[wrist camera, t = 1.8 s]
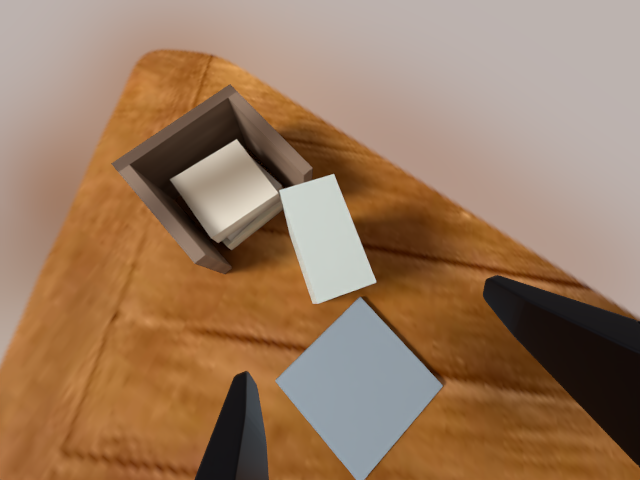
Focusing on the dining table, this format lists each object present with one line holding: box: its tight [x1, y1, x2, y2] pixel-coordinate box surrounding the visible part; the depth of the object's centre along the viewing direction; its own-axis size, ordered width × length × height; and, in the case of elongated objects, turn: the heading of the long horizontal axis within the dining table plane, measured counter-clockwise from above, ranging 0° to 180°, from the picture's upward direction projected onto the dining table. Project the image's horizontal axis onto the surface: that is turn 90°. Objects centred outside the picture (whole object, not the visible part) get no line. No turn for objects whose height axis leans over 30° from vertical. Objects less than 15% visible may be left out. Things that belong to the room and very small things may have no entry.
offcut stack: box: [170, 139, 284, 250], centre depth 21 cm, size 6×6×4 cm
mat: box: [276, 297, 443, 480], centre depth 20 cm, size 9×9×1 cm
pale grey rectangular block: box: [279, 174, 376, 304], centre depth 18 cm, size 6×3×10 cm, turn 19°
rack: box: [112, 85, 313, 274], centre depth 20 cm, size 9×10×6 cm
